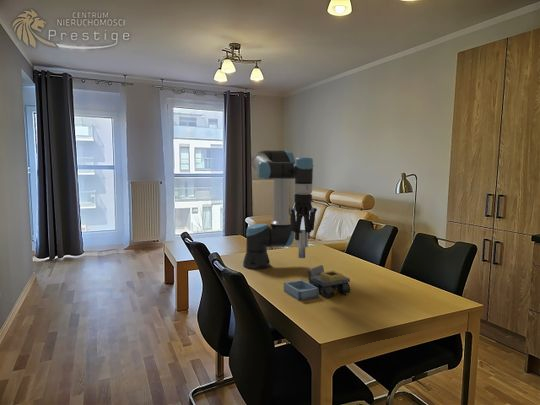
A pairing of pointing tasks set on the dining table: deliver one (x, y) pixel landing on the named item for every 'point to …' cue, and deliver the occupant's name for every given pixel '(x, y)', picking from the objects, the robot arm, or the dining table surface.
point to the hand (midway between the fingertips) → (302, 246)
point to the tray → (301, 290)
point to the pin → (302, 244)
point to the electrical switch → (315, 272)
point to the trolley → (331, 283)
